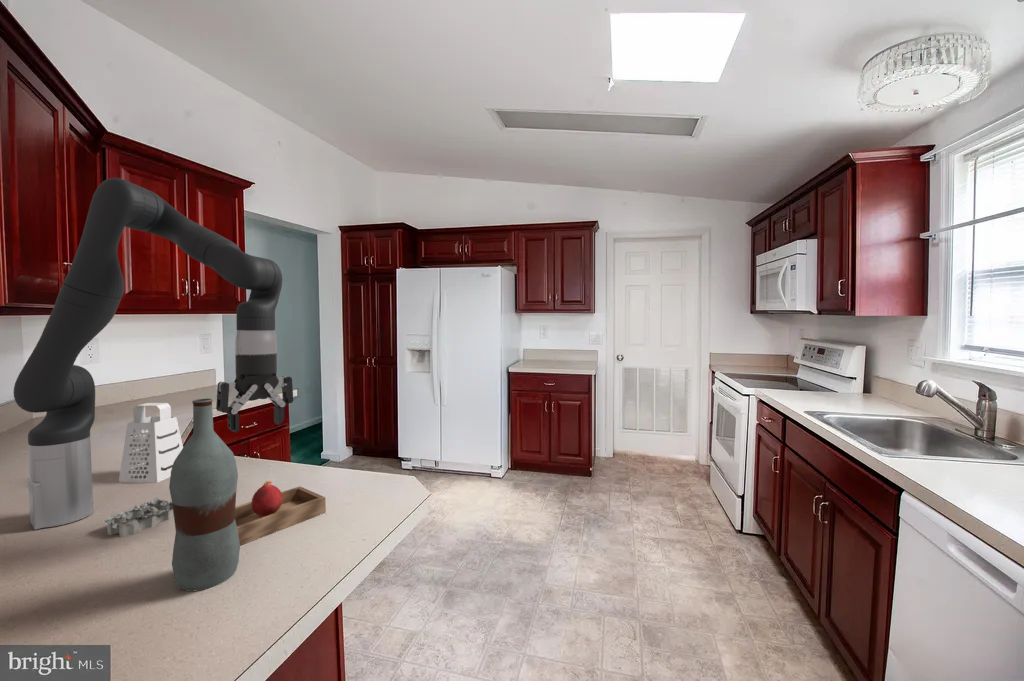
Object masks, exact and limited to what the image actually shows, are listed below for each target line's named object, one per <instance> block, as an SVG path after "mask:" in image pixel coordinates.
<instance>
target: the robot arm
mask: <svg viewBox="0 0 1024 681" xmlns="http://www.w3.org/2000/svg"><path fill="white" fill-rule="evenodd" d="M125 227H126V228H129V229H131V230H133V231H134V230H135V231H141V232H145V233H149V234H151V235H156V236H159V237H161V238H164V239H167V241H171V242H172V243H174V244H175V245H176V246H177V247H178V248H180V250H181V251H183V252H184V253H185V254H186V255H187V256H189V257H190V258H192V259H194V260H195V261H197V262H199V263H200V264H202V265H205V266H206V267H207V268H210V269H211V270H213V271H215V273H217V274H218V275H219V276H220V277H221V278H222V279H223V280H225V281H226V282H228V283H229V284H230V285H233V286H235V287H237V288H240V289H243V290H248V291H250V294H249V297H248V300H247V301H243V302H241V303H239V304H238V305H237V307H236V333H235V340H234V341H235V342H234V345H235V347H234V349H235V350H234V351H235V354H234V355H235V356H234V357H235V360H234V362H235V380H234V381H229V382H228V381H227V382H225V381H219V382H218V383H217V385H216V386H217V389H216V403H215V404H216V407H215V408H216V411H217V412H220V413H223V414H225V413H226V414H227V428H228V430H230V431H231V432H232V433H238V432H240V413H238V412H239V411H240V410H241V408H242V407H243V406H244V405H246V403H247V402H248V401H251V402H252V401H257V400H259V399H260V400H267V399H268V400H270V401H271V403H272V404H274V406H273V423H274V424H275V425H282V424H283V422H284V421H285V407H286V406H287V405H288V404H292V403H293V402H294V391H293V390H294V389H293V388H294V387H293V378H292V377H291V376H286V375H283V376H281V377H278V376H277V373H278V344H277V342H278V340H277V336H276V309H277V306H278V303H279V299H280V294H281V291H282V287H283V274H282V270H281V268H280V266H279V264H278V263H277V262H275V261H274V260H271V259H270V258H269V259H268V258H265V257H259V256H256V255H251V254H249V253H247V252H244V251H242V250H241V248H240V247H239V246H238V245H237V244H236V243H235V242H233V241H232V240H230V239H228V238H226V237H224V236H223V235H221V234H218V233H217V232H215V231H213V230H211V229H209V228H207V227H205V226H203V225H201V224H199V223H197V222H195V221H193V220H191V219H190V218H189V217H187V216H185V215H184V214H183V213H181V212H179V211H178V210H177V209H176V208H175V207H173V206H172V205H171V204H169V203H168V202H167V201H166V200H164V198H162V196H160V195H158V194H157V193H155V192H154V191H152V190H150V189H147V188H145V187H143V186H140V185H138V184H135V183H133V182H131V181H128V180H126V179H123V178H120V177H110V178H107V179H105V180H102V181H101V183H100V184H99V185H98V186H97V188H96V189H95V191H94V193H93V195H92V199H91V201H90V205H89V208H88V212H87V215H86V220H85V224H84V226H83V230H82V234H81V237H80V240H79V245H77V249H76V252H75V254H74V258H73V260H72V262H71V265H70V268H69V270H68V272H67V274H66V276H65V278H64V279H63V280H64V281H63V282H62V285H61V287H60V289H59V292H58V294H57V297H56V300H55V302H54V305H53V308H52V311H51V313H50V316H49V318H48V319H47V321H46V323H45V326H44V328H43V330H42V332H41V335H40V337H39V339H38V342H37V343H36V345H35V346H34V349H33V350H32V352H31V354H30V355H29V357H28V358H27V360H26V362H25V364H24V365H23V367H22V368H21V370H20V372H19V373H18V376H17V377H16V380H15V382H14V386H13V399H14V402H15V403H16V404H17V406H18V407H19V408H20V409H21V410H23V411H25V412H28V413H34V414H35V413H36V414H37V413H45V417H43V419H42V420H41V421H40V422H39V423H38V424H37V425H35V426H34V427H33V428H31V429H30V430H29V432H28V434H27V443H28V465H29V466H28V468H29V478H28V479H27V480H28V483H27V484H28V486H27V487H28V501H29V503H28V504H29V506H28V507H29V518H30V519H29V521H30V524H31V526H32V528H33V530H41V529H42V528H43V529H45V528H51V527H57V526H58V527H59V526H63V525H67V524H71V523H74V522H77V521H80V520H82V519H84V518H87V517H89V516H91V515H92V514H93V513H94V493H93V490H94V489H93V469H92V443H91V429H92V428H93V427H92V426H93V424H94V422H95V416H96V386H95V385H96V384H95V381H94V380H95V379H94V378H93V376H92V374H91V373H90V371H89V370H88V369H87V368H84V367H83V366H80V365H77V364H75V362H76V360H77V358H78V356H79V355H80V353H81V352H82V351H83V349H84V348H85V347H86V346H87V345H88V344H89V343H90V342H91V341H92V340H93V339H95V338H96V336H97V335H99V334H100V333H101V332H102V331H103V329H104V328H106V326H107V325H108V324H110V322H111V321H112V319H113V318H114V317H115V314H116V313H117V310H118V308H119V305H120V303H121V300H122V298H123V295H124V292H125V281H124V276H123V273H122V272H123V271H122V269H121V268H122V267H121V265H120V261H119V258H118V247H119V243H120V240H121V237H122V234H123V231H124V230H125ZM278 385H279V387H281V394H282V395H281V396H282V398H281V396H280V394H279V393H278V392H277V391H276V390H275V389H276V387H278ZM233 389H235V390H236V391H237V393H236V394H235V395H234V397H232V398H233V399H232V401H231V402H230V404H229V396H230V393H231V392H232V391H233Z"/></svg>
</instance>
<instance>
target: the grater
mask: <svg viewBox="0 0 1024 681" xmlns="http://www.w3.org/2000/svg"><path fill="white" fill-rule="evenodd" d="M146 406H149V407H150V406H154V407H155V406H156V407H157V408H158V409H159V416H152V415H151V416H148V417H147V416H146ZM132 411H133V412H132V413H133V420H132V421H128V422H127V423H126V431H125V437H124V444H123V451H122V458H121V464H120V471H119V478H118V483H143V484H144V483H151V484H152V483H153V484H154V483H157V484H158V483H159V482H162V481H164V480H166V479H168V478H169V479H170V476H171V470H172V466H173V463H174V461H175V459H176V458H177V456H178V455H179V453H180V452H181V450H182V449H183V447H184V445H183V440H182V437H181V432H180V426H179V421H178V418H177V416H172V406H171V405H170V404H169V403H168V402H146V403H142V404H138V405H135V406H134V408H133V410H132ZM135 436H136V437H135ZM142 463H144V464H142ZM132 467H133V468H132ZM146 472H147V473H146ZM136 476H137V477H136ZM140 476H141V478H140ZM144 476H145V477H144ZM135 477H136V478H135Z"/></svg>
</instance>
